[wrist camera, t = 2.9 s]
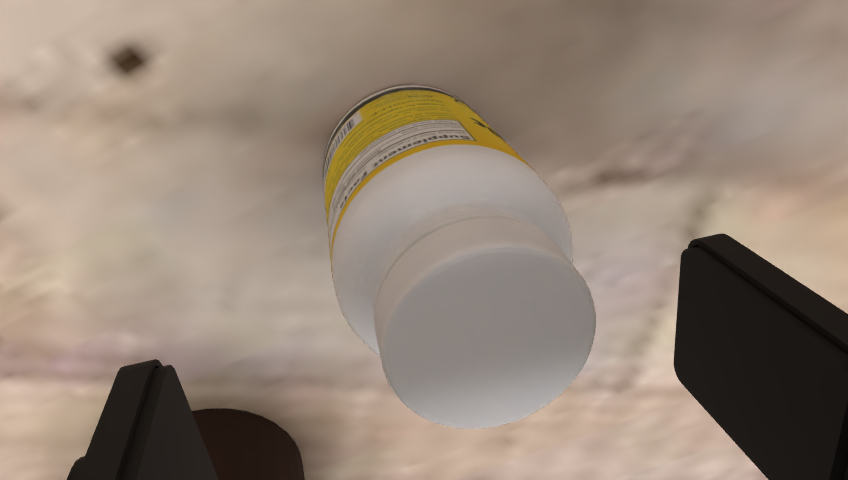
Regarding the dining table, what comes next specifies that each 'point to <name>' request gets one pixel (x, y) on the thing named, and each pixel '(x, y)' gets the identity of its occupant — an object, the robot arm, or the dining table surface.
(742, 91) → the dining table surface
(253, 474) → the coffee mug
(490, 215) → the supplement bottle
